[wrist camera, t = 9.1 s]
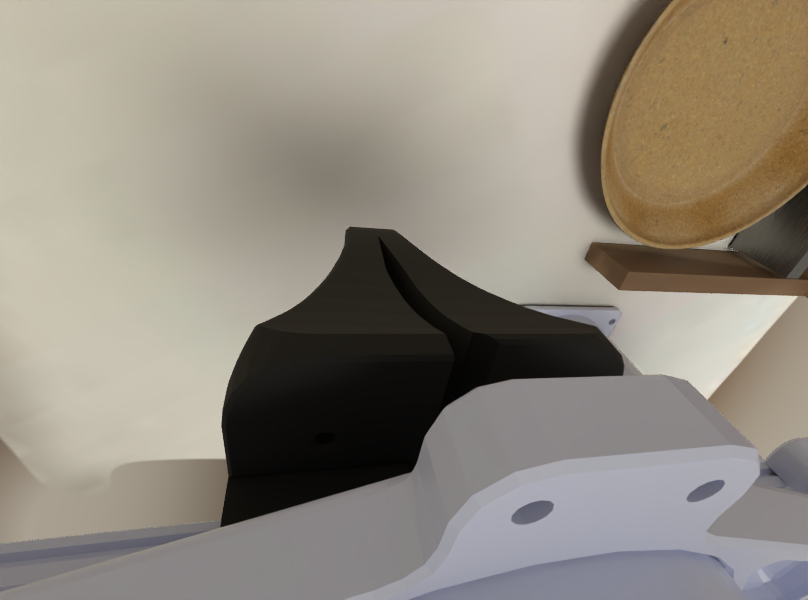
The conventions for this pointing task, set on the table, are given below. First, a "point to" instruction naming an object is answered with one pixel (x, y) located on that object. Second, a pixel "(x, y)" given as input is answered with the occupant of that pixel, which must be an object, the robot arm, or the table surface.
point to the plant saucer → (709, 122)
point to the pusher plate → (779, 238)
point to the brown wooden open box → (689, 271)
